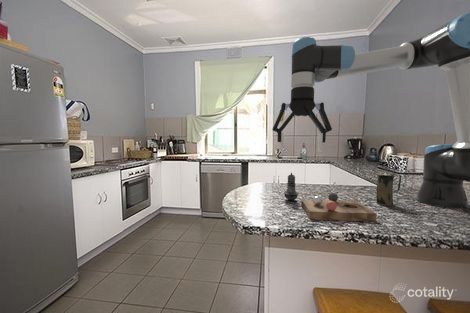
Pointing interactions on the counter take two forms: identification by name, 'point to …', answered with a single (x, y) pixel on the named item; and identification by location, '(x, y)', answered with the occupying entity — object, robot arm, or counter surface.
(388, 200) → the mug
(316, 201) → the steel ball
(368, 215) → the wooden board
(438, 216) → the counter surface
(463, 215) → the counter surface
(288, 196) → the salt shaker
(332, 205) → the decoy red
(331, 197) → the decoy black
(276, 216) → the counter surface
